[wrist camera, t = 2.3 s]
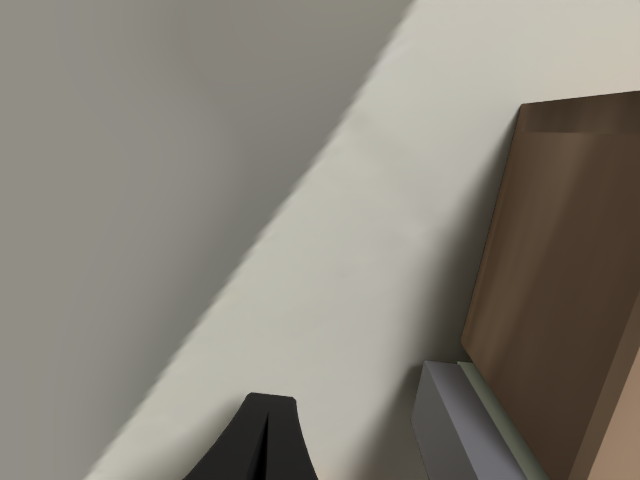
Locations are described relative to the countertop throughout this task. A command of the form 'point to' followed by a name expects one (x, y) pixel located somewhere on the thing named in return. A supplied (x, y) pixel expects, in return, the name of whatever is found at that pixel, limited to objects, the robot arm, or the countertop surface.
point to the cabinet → (566, 287)
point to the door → (467, 428)
